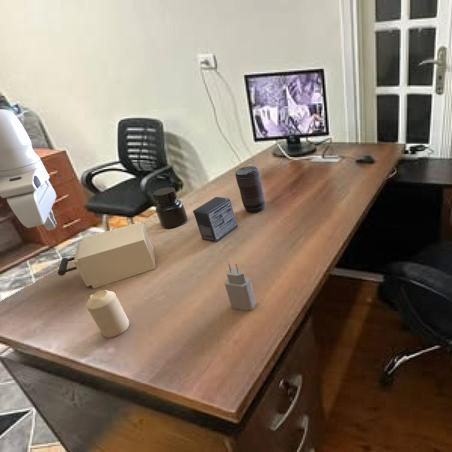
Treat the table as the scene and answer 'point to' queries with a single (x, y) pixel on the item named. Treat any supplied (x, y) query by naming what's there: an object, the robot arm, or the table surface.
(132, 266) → the cabinet
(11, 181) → the robot arm
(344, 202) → the table surface
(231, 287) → the power adapter
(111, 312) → the candle
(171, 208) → the ink bottle
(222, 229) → the small box
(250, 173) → the camera lens
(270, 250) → the table surface
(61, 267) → the drawer
